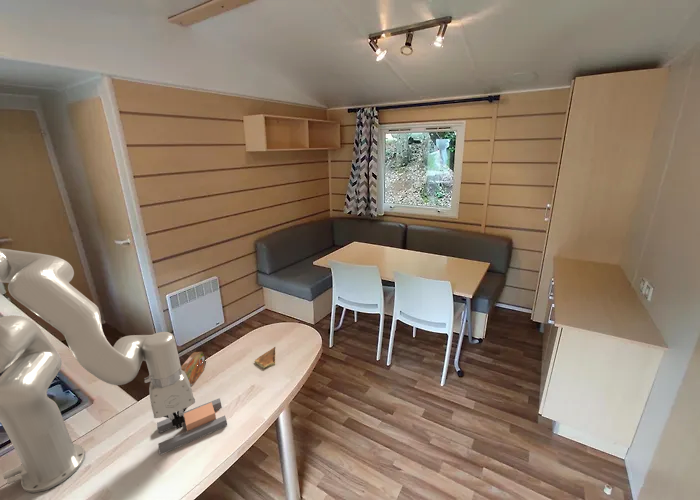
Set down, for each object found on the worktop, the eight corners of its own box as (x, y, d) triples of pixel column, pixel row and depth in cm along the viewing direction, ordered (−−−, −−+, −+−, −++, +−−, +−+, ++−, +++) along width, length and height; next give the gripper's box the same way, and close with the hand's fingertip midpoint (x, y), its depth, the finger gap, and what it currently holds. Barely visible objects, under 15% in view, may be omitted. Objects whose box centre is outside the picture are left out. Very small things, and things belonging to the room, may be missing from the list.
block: (188, 436, 94) (186, 425, 93) (186, 424, 98) (183, 413, 97) (217, 424, 98) (215, 412, 97) (213, 413, 102) (211, 402, 101)
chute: (160, 454, 89) (158, 449, 88) (158, 428, 97) (156, 422, 96) (227, 425, 98) (226, 419, 97) (220, 403, 106) (219, 398, 105)
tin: (186, 394, 110) (181, 374, 107) (177, 394, 110) (172, 374, 107) (208, 365, 124) (204, 347, 121) (200, 364, 124) (196, 346, 121)
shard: (275, 349, 133) (275, 345, 133) (288, 356, 129) (287, 352, 128) (254, 363, 125) (253, 359, 125) (266, 371, 121) (266, 367, 120)
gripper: (134, 394, 82) (150, 447, 88) (197, 372, 89) (208, 422, 95) (135, 377, 88) (149, 427, 94) (194, 358, 95) (204, 405, 101)
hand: (179, 424), depth 95 cm, fingers closed
